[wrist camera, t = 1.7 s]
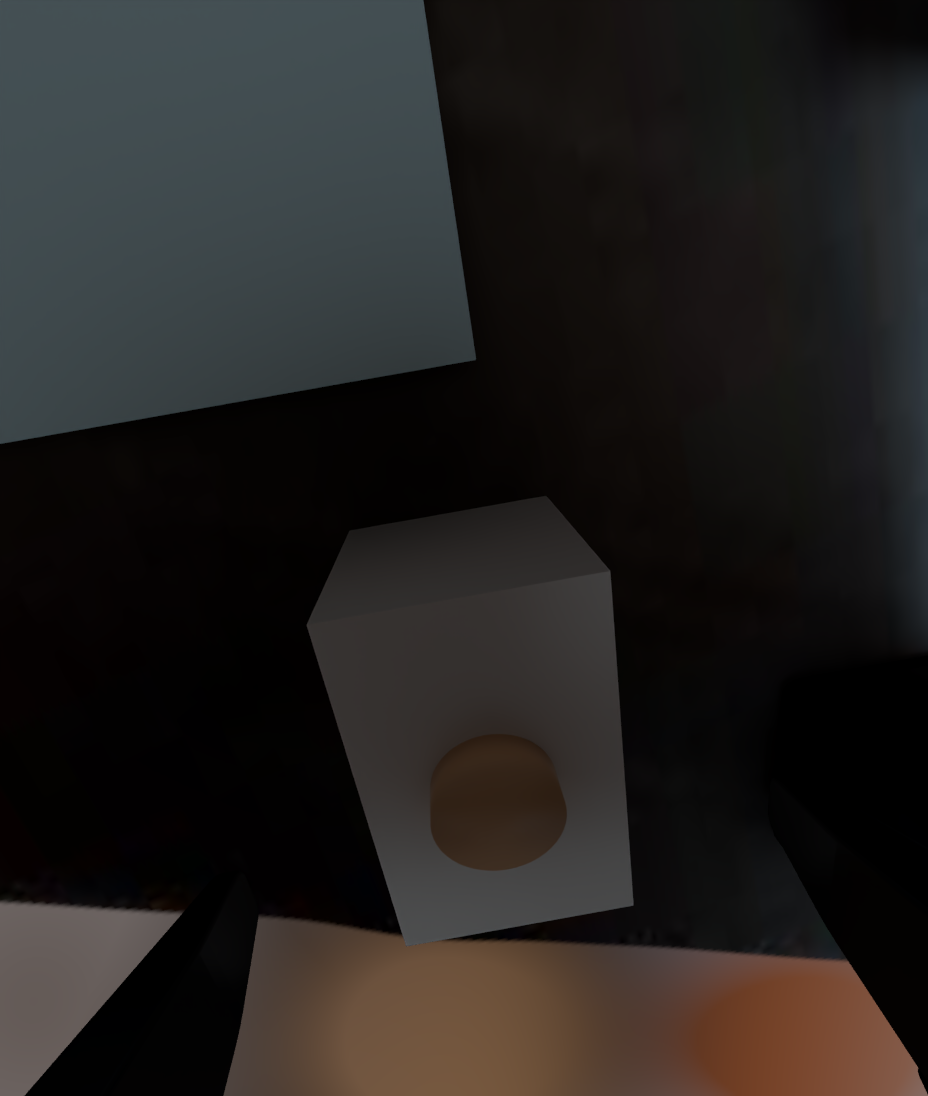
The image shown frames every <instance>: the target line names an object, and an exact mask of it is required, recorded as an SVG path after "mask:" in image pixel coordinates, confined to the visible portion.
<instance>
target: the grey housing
mask: <svg viewBox="0 0 928 1096" xmlns="http://www.w3.org/2000/svg"><path fill="white" fill-rule="evenodd" d="M307 628H308V631H309V635H310V638H311V641H312V644H313V647H314V651H315V654H316V657H317V660H318V664H319V667H320V670H321V673H322V676H323V680H324V683H325V686H326V689H327V693H328V696H329V699H330V702H331V705H332V709H333V712H334V715H335V718H336V722H337V725H338V728H339V731H340V734H341V738H342V741H343V744H344V747H345V751H346V754H347V757H348V760H349V763H350V767H351V770H352V773H353V776H354V780H355V783H356V786H357V789H358V792H359V796H360V799H361V802H362V805H363V809H364V812H365V815H366V818H367V821H368V825H369V828H370V831H371V834H372V838H373V841H374V844H375V847H376V850H377V854H378V857H379V860H380V863H381V867H382V870H383V873H384V876H385V879H386V883H387V886H388V889H389V892H390V896H391V899H392V902H393V905H394V908H395V912H396V915H397V918H398V921H399V925H400V928H401V931H402V934H403V937H404V941H405V944H406V946H411V945H417V944H422V943H428V942H433V941H439V940H444V939H450V938H455V937H461V936H467V935H472V934H478V933H483V932H489V931H494V930H500V929H505V928H511V927H516V926H522V925H528V924H533V923H539V922H544V921H550V920H555V919H561V918H566V917H572V916H578V915H583V914H589V913H594V912H600V911H605V910H611V909H616V908H622V907H627V906H633V892H632V877H631V863H630V848H629V834H628V819H627V805H626V790H625V776H624V761H623V747H622V732H621V718H620V703H619V689H618V674H617V660H616V645H615V631H614V616H613V602H612V587H611V573H610V570H609V569H608V568H607V566H606V565H605V564H604V563H603V562H602V561H601V559H600V558H599V557H598V556H597V555H596V554H595V552H594V551H593V550H592V549H591V548H590V546H589V545H588V544H587V543H586V542H585V541H584V539H583V538H582V537H581V536H580V535H579V534H578V532H577V531H576V530H575V529H574V528H573V527H572V525H571V524H570V523H569V522H568V521H567V519H566V518H565V517H564V516H563V515H562V514H561V512H560V511H559V510H558V509H557V508H556V507H555V505H554V504H553V503H552V502H551V501H550V500H549V498H548V497H547V496H542V497H536V498H530V499H525V500H519V501H513V502H508V503H502V504H497V505H491V506H485V507H480V508H474V509H468V510H463V511H457V512H451V513H446V514H440V515H434V516H429V517H423V518H417V519H412V520H406V521H401V522H395V523H389V524H384V525H378V526H372V527H367V528H361V529H355V530H350V531H349V533H348V535H347V537H346V539H345V542H344V544H343V546H342V548H341V550H340V553H339V555H338V557H337V559H336V561H335V564H334V566H333V568H332V570H331V572H330V575H329V577H328V579H327V581H326V583H325V586H324V588H323V590H322V592H321V594H320V597H319V599H318V601H317V603H316V605H315V608H314V610H313V612H312V614H311V616H310V619H309V621H308V623H307Z"/></svg>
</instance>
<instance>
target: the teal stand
mask: <svg viewBox="0 0 928 1096" xmlns="http://www.w3.org/2000/svg"><path fill="white" fill-rule="evenodd" d="M472 360H476V356H475V349H474V342H473V335H472V328H471V322H470V315H469V308H468V301H467V294H466V288H465V281H464V274H463V267H462V260H461V254H460V247H459V240H458V233H457V226H456V220H455V213H454V206H453V199H452V192H451V185H450V179H449V172H448V165H447V158H446V151H445V145H444V138H443V131H442V124H441V117H440V111H439V104H438V97H437V90H436V83H435V77H434V70H433V63H432V56H431V49H430V43H429V36H428V29H427V22H426V15H425V9H424V2H423V0H0V444H2V443H8V442H13V441H19V440H25V439H30V438H36V437H42V436H47V435H53V434H59V433H64V432H70V431H76V430H81V429H87V428H93V427H98V426H104V425H110V424H115V423H121V422H127V421H132V420H138V419H144V418H149V417H155V416H161V415H166V414H172V413H178V412H183V411H189V410H195V409H200V408H206V407H212V406H217V405H223V404H229V403H234V402H240V401H246V400H251V399H257V398H263V397H268V396H274V395H280V394H285V393H291V392H297V391H302V390H308V389H314V388H319V387H325V386H331V385H336V384H342V383H348V382H353V381H359V380H365V379H370V378H376V377H382V376H387V375H393V374H399V373H404V372H410V371H416V370H421V369H427V368H433V367H438V366H444V365H450V364H455V363H461V362H467V361H472Z"/></svg>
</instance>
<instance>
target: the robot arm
mask: <svg viewBox="0 0 928 1096" xmlns="http://www.w3.org/2000/svg"><path fill="white" fill-rule="evenodd" d="M804 695H805V696H804ZM803 696H804V697H803ZM802 697H803V698H802ZM801 698H802V699H801ZM768 815H769V820H770V823H771V825H772V828H773V832H774V836H775V837H776V839H777V840H778V841H779V843H780V844H781V846H782V847H783V848H784V850H785V852H786V854H787V856H788V858H789V859H790V861H791V863H792V865H793V867H794V869H795V871H796V872H797V874H798V876H799V878H800V880H801V882H802V884H803V885H804V887H805V889H806V891H807V893H808V895H809V897H810V898H811V900H812V902H813V904H814V906H815V908H816V910H817V911H818V913H819V915H820V917H821V918H822V920H823V922H824V924H825V925H826V927H827V929H828V930H829V932H830V933H831V935H832V937H833V938H834V940H835V941H836V943H837V945H838V946H839V948H840V949H841V951H842V952H843V954H844V955H845V957H846V958H847V960H848V961H849V963H850V964H851V965H852V967H853V969H854V970H855V972H856V973H857V975H858V976H859V978H860V979H861V981H862V982H863V984H864V986H865V987H866V989H867V990H868V992H869V993H870V995H871V996H872V998H873V999H874V1001H875V1002H876V1004H877V1005H878V1007H879V1008H880V1010H881V1011H882V1013H883V1015H884V1016H885V1018H886V1019H887V1020H888V1022H889V1024H890V1025H891V1027H892V1028H893V1030H894V1031H895V1033H896V1034H897V1036H898V1037H899V1039H900V1040H901V1042H902V1043H903V1045H904V1047H905V1048H906V1050H907V1051H908V1053H909V1054H910V1055H911V1057H912V1059H913V1060H914V1062H915V1063H916V1065H917V1066H918V1073H919V1076H920V1079H921V1081H922V1083H923V1085H924V1087H925V1089H926V1091H927V1094H928V656H924V657H918V658H913V659H907V660H902V661H896V662H890V663H885V664H879V665H874V666H868V667H862V668H857V669H851V670H846V671H840V672H834V673H829V674H823V675H818V676H812V677H806V678H801V679H797V680H795V681H793V682H791V683H790V684H788V685H787V687H786V688H785V689H784V691H783V695H782V706H781V721H780V737H779V752H778V754H777V757H776V773H775V777H773V778H772V779H771V781H770V787H769V805H768ZM257 922H258V904H257V901H256V898H255V896H254V894H253V892H252V889H251V887H250V885H249V883H248V880H247V878H246V876H245V874H244V873H243V872H241V871H233V872H227V873H222V874H219V875H217V876H215V877H214V878H213V879H212V880H211V881H210V882H209V883H208V885H207V886H206V887H205V888H204V889H203V890H202V892H201V893H200V894H199V895H198V896H197V897H196V898H195V900H194V901H193V902H192V903H191V904H190V905H189V907H188V908H187V909H186V910H185V911H184V912H183V913H182V915H181V916H180V917H179V918H178V919H177V920H176V922H175V923H174V924H173V925H172V926H171V927H170V929H169V930H168V931H167V932H166V933H165V934H164V935H163V937H162V938H161V939H160V940H159V941H158V942H157V944H156V945H155V946H154V947H153V948H152V949H151V950H150V952H149V953H148V954H147V955H146V956H145V957H144V959H143V960H142V961H141V962H140V963H139V964H138V965H137V967H136V968H135V969H134V970H133V971H132V972H131V974H130V975H129V976H128V977H127V978H126V979H125V980H124V982H123V983H122V984H121V985H120V986H119V987H118V988H117V990H116V991H115V992H114V993H113V994H112V996H111V997H110V998H109V999H108V1000H107V1001H106V1002H105V1004H104V1005H103V1006H102V1007H101V1008H100V1009H99V1010H98V1012H97V1013H96V1014H95V1015H94V1016H93V1017H92V1018H91V1020H90V1021H89V1022H88V1023H87V1024H86V1025H85V1027H84V1028H83V1029H82V1030H81V1031H80V1032H79V1034H78V1035H77V1036H76V1037H75V1038H74V1039H73V1040H72V1042H71V1043H70V1044H69V1045H68V1046H67V1047H66V1048H65V1050H64V1051H63V1052H62V1053H61V1054H60V1055H59V1057H58V1058H57V1059H56V1060H55V1061H54V1062H53V1063H52V1065H51V1066H50V1067H49V1068H48V1069H47V1070H46V1072H45V1073H44V1074H43V1075H42V1076H41V1077H40V1079H39V1080H38V1081H37V1082H36V1083H35V1084H34V1085H33V1087H32V1088H31V1089H30V1090H29V1091H28V1092H27V1094H26V1095H25V1096H223V1095H224V1091H225V1086H226V1083H227V1079H228V1075H229V1071H230V1067H231V1063H232V1059H233V1055H234V1051H235V1047H236V1043H237V1039H238V1034H239V1029H240V1025H241V1019H242V1014H243V1008H244V1002H245V996H246V989H247V984H248V978H249V972H250V965H251V959H252V953H253V947H254V941H255V935H256V928H257Z"/></svg>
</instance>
